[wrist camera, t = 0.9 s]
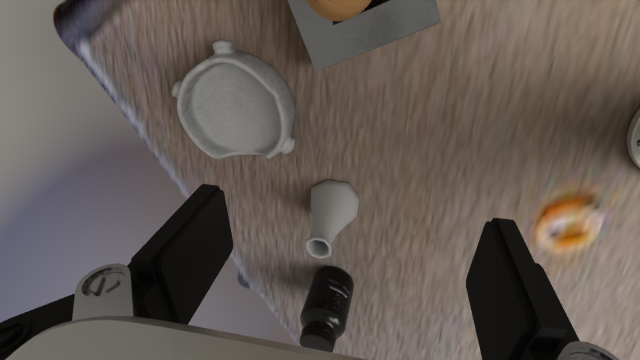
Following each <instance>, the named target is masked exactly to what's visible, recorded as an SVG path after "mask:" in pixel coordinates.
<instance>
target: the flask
mask: <svg viewBox="0 0 640 360" xmlns="http://www.w3.org/2000/svg"><path fill="white" fill-rule="evenodd" d="M358 206H359V198H358V196H357V195H356V193H355V192H354V190H353V189H352V187H351V186H350V185H349V183H344V182H338V181H332V180H326V181H324V182H322V183H320V184H318V185H316V186H314V187H311V211H312V218H313V230H312V233H311V236H310V238H308V239H307V240H306V250H307V252H308V253H309V254H310V255H311V257H316V258H321V259H323V258H325V257H328V256H331V248H332V245H331V244H332V242H333V240H334V239H335V237H336V236H337V234H338V233H339V232H340V231H341V230H342V229H343V228H344V227H345V226H346V225H347V224H349V223H350V222H351V221H352V220H353V219H354V218H355V217H356V216H357V214H358Z"/></svg>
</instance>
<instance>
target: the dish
mask: <svg viewBox="0 0 640 360" xmlns="http://www.w3.org/2000/svg"><path fill="white" fill-rule="evenodd" d="M212 47H213V49H214V55H212V56H211V57H209V58H208V59H206V60H204V61H202V62H201V63H199V64H197V65H196V66H195V67H193V68H192V69H191V70H190V71H189V72H188V73H187V75H186V76H185V78H184V79H183V80H178V81H177V82H176V83H175V84H174V86H173V89H172V96H173V97H175V98H177V113H178V116H179V119H180V122H181V124H182V126H183V128H184V130H185V131H186V133H187V134H188V136H189V137H190V139H191V140H192V141H193V142H194V143H195V145H196V146H197V147H198V148H199V149H201V150H202V151H204V152H205V153H206V154H207V155H209V156H210V157H212V158H214V159H223V158H226V157H229V156H236V155H246V154H250V155H262V156H265V158H268V159H270V158H272V157H273V156H275V155H276V154H278V153H280V152H282V153H283V154H288V153H289V152H291V151H292V150H293V148H294V147H295V144H296V138H295V137H293V136H292V135H291V133H292V129H293V126H294V121H295V108H294V102H293V99H292V95H291V93H290V91H289V89H288V87H287V85H286V83H285V82H284V80H283V79H282V78H281V76H280V75H279V74H278V73H277V72H276V71H275V70H274V69H273V68H272V67H271V66H269V65H268V64H267V63H265V62H264V61H262V60H260V59H259V58H257V57H255V56H253V55H250V54H247V53H244V52H238V51H235V50H234V43H233V42H231V41H227V40H224V39H221V40H218V41H217V42H215V43H213V44H212Z"/></svg>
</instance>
